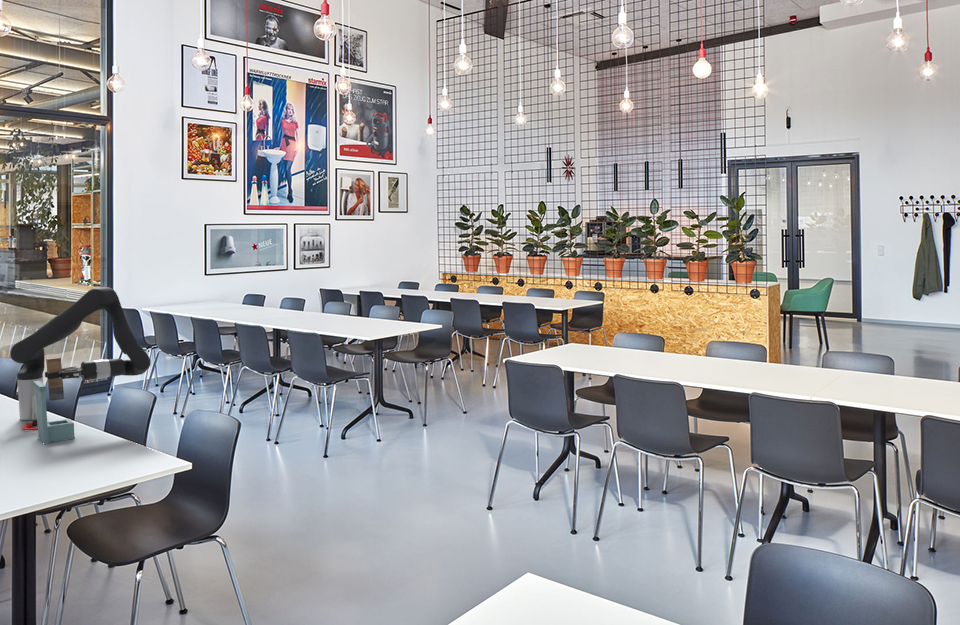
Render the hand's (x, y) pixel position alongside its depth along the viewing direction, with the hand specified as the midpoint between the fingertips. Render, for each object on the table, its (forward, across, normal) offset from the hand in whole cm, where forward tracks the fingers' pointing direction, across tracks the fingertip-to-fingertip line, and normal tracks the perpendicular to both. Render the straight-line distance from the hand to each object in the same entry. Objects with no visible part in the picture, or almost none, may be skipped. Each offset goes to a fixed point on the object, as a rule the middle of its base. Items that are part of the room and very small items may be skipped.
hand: (46, 375), depth 275 cm
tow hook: (+2, -20, +24) cm, 31 cm away
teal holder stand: (-2, +4, +24) cm, 24 cm away
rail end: (-3, 0, +10) cm, 10 cm away
